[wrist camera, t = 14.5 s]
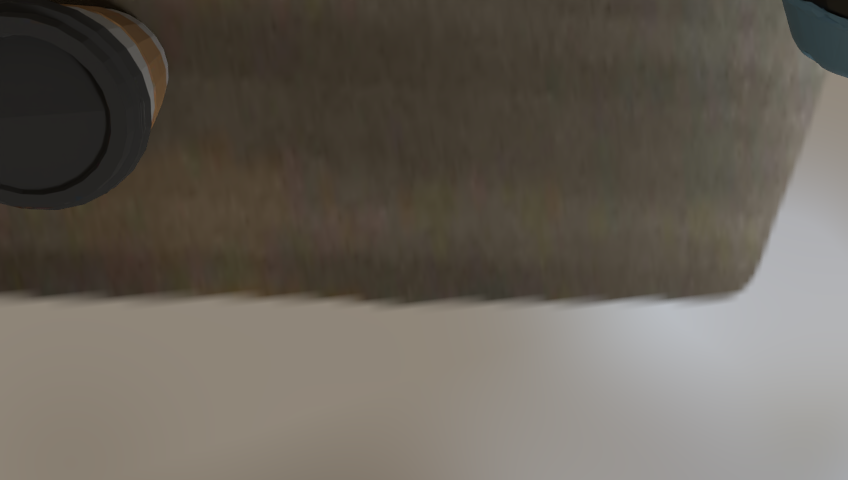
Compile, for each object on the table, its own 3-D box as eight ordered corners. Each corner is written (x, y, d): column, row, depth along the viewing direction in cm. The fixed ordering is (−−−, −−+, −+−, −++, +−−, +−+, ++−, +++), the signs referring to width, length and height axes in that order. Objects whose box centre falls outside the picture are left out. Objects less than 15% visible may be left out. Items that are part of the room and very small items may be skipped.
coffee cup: (14, -8, 37) (-138, 5, 24) (174, -15, 39) (119, -6, 25) (50, 143, 40) (-65, 232, 27) (198, 131, 42) (160, 211, 28)
